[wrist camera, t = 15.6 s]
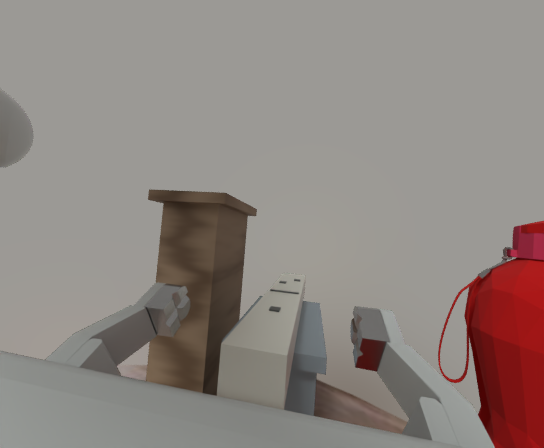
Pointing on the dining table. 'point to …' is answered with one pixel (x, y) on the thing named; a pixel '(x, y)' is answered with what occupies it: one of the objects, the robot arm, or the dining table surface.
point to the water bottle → (509, 341)
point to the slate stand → (304, 359)
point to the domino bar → (263, 346)
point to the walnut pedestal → (199, 283)
